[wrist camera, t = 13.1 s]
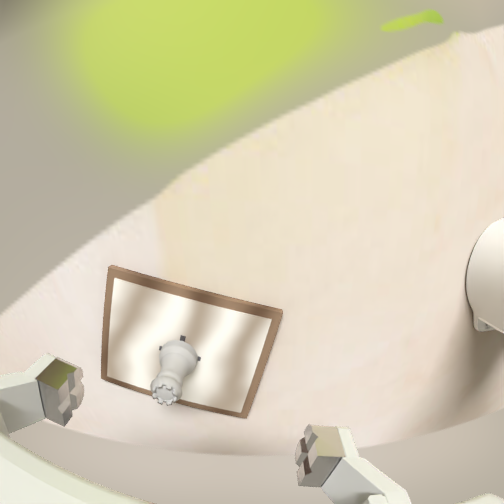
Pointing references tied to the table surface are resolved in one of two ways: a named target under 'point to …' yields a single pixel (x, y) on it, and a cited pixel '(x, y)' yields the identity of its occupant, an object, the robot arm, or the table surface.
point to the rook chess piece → (173, 371)
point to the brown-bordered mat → (186, 339)
